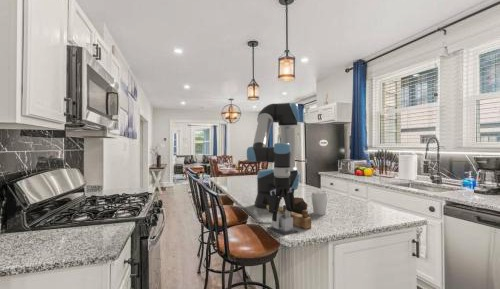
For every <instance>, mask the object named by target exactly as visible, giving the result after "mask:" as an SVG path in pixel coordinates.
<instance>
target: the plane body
mask: <svg viewBox="0 0 500 289" xmlns="http://www.w3.org/2000/svg"><path fill="white" fill-rule="evenodd" d="M282 207H283V210H278V213H281V214H284V215H285V211H286V210H287V209H286V205H282ZM308 213H309V211H308V209H307V210H303V211H302V215H301V214H298V213H294V212H291V217H293V227H297V228H299V229H302V230H310V229H312V217H311V216H309V214H308Z"/></svg>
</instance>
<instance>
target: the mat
mask: <svg viewBox="0 0 500 289" xmlns="http://www.w3.org/2000/svg"><path fill="white" fill-rule="evenodd" d="M266 228H267V230H271V231H273V232H274V233H275V232H276V233H278V234H280V235H283V236H288V235H291V234H295V233H298V230H296V229H294V228H293V231H290V232H286V233H284V232H281V231H279V230H276V229H274V228H272V225H271V226H268V227H266Z"/></svg>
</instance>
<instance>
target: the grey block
mask: <svg viewBox="0 0 500 289" xmlns="http://www.w3.org/2000/svg"><path fill="white" fill-rule="evenodd" d="M277 214H279V229H277V228H274V221H273V214H271V226H272V228H274V229H276V230H279V231H281V232H284V233H286V232H290V231H293V229H294V225H293V217H290V216H287V215H284V214H281V213H279V212H277Z"/></svg>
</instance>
